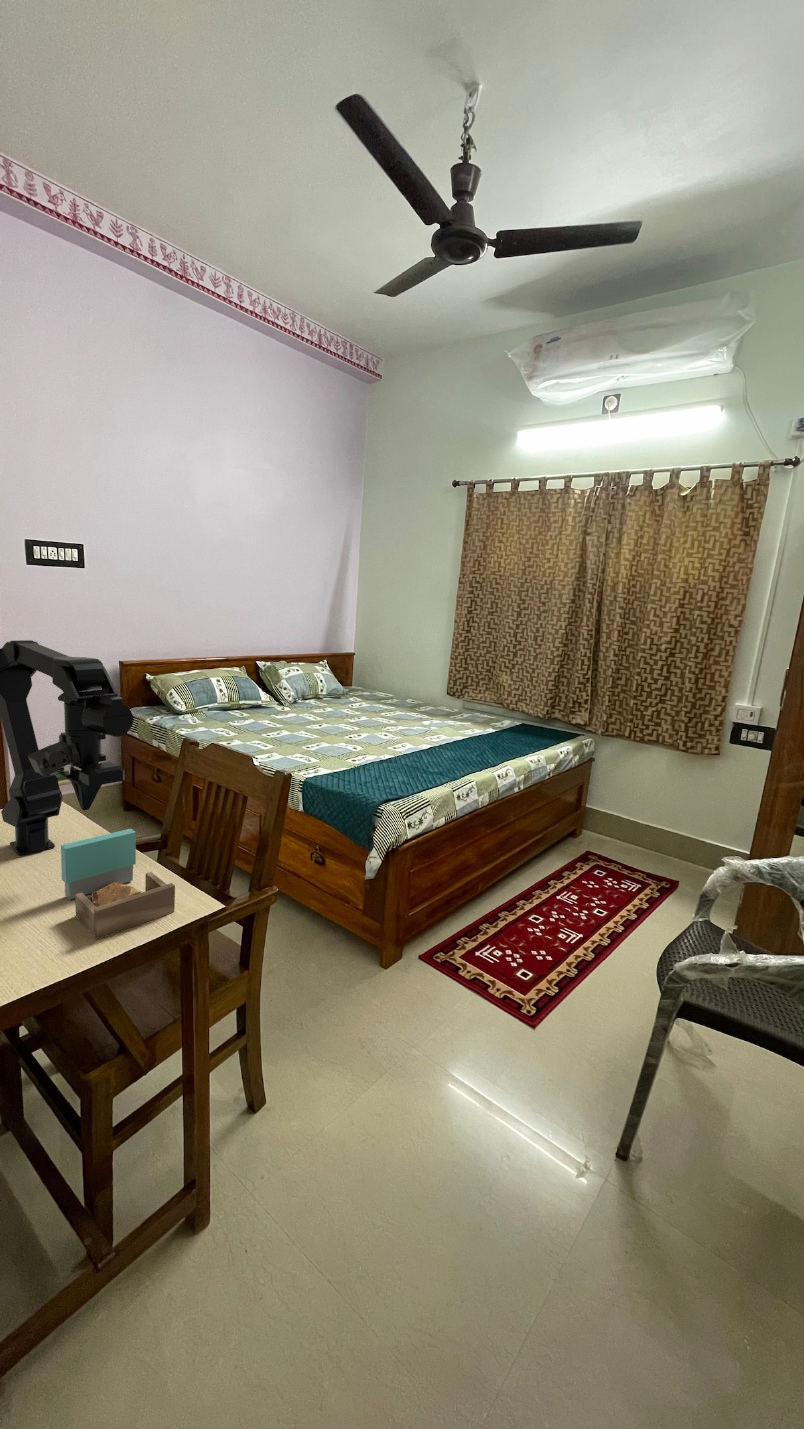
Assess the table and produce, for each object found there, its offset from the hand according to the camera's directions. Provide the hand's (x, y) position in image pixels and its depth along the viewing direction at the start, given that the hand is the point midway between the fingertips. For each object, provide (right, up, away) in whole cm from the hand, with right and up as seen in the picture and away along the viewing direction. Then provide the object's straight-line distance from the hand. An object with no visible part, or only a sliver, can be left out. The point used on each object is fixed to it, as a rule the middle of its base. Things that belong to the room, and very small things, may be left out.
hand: (85, 809), depth 106 cm
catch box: (+12, -17, -8) cm, 22 cm away
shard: (+9, -16, -6) cm, 19 cm away
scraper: (+4, -14, -2) cm, 15 cm away
